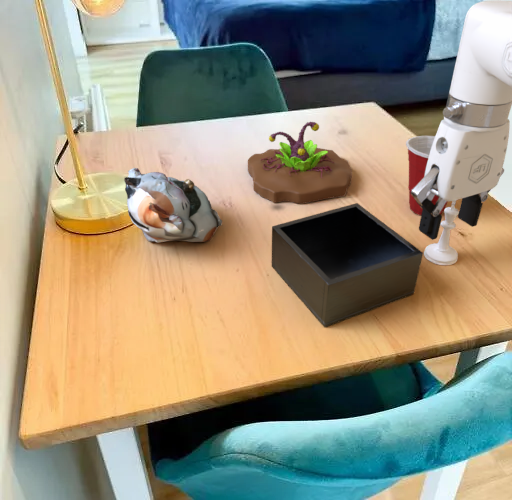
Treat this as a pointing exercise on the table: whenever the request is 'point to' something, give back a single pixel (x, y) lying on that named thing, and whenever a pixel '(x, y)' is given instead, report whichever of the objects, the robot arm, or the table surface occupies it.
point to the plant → (299, 171)
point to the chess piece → (444, 241)
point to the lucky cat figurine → (169, 208)
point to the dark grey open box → (344, 262)
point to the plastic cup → (419, 167)
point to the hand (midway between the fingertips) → (447, 227)
